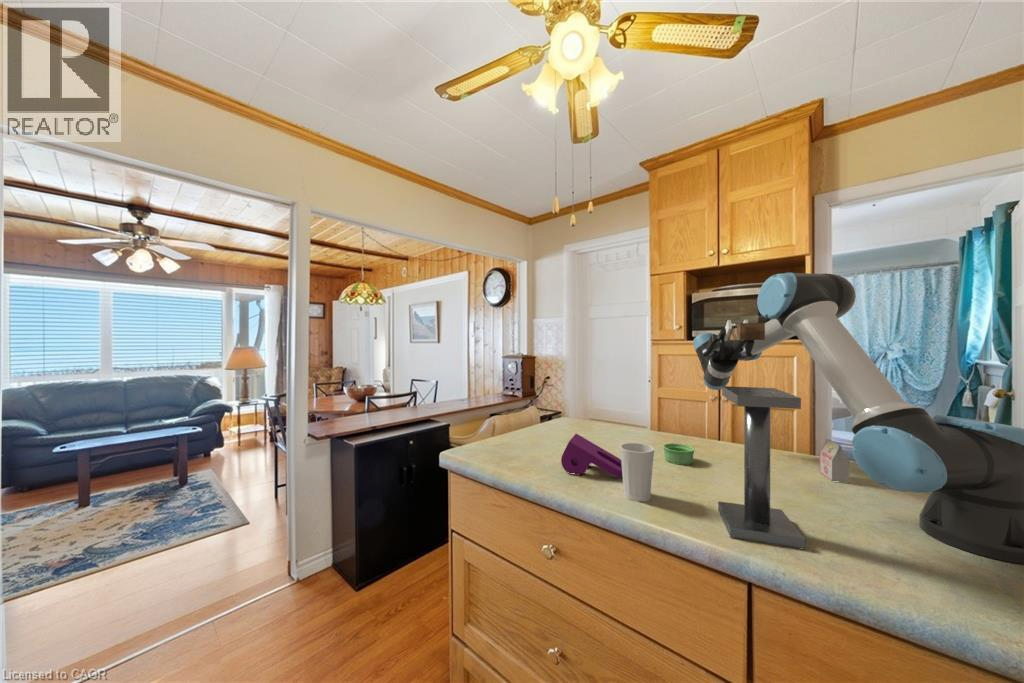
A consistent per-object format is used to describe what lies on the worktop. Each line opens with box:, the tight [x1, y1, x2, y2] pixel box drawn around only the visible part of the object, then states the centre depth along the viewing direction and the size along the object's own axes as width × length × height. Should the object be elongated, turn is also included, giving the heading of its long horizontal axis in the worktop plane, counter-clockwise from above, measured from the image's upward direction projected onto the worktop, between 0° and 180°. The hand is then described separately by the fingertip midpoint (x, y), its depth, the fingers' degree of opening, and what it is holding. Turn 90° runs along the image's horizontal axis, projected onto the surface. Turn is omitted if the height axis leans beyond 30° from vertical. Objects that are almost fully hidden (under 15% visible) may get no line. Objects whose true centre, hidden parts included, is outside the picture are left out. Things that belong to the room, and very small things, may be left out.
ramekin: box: [663, 442, 695, 466], centre depth 115 cm, size 9×9×4 cm
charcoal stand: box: [717, 385, 806, 550], centre depth 74 cm, size 15×12×28 cm
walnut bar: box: [728, 322, 766, 340], centre depth 95 cm, size 22×5×4 cm, turn 160°
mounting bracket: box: [560, 433, 623, 479], centre depth 106 cm, size 9×8×18 cm
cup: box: [619, 442, 655, 502], centre depth 90 cm, size 8×8×12 cm
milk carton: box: [819, 438, 850, 483], centre depth 100 cm, size 4×7×10 cm, turn 162°
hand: (738, 324), depth 98 cm, fingers closed on walnut bar, 3 cm apart
